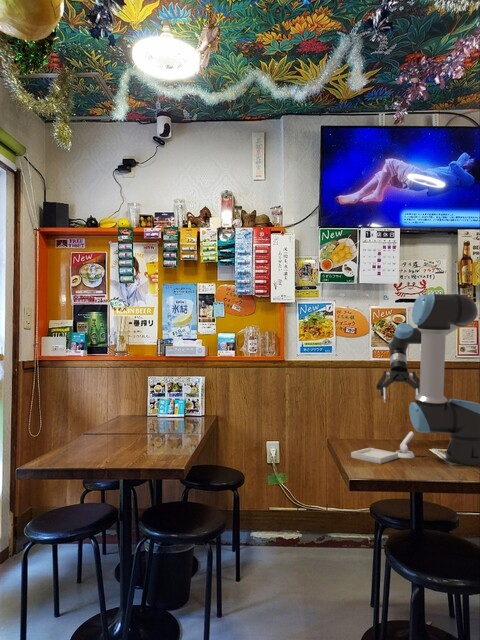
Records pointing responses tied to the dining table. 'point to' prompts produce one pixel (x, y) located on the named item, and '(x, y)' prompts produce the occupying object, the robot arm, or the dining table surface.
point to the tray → (374, 455)
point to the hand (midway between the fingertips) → (401, 401)
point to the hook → (404, 449)
